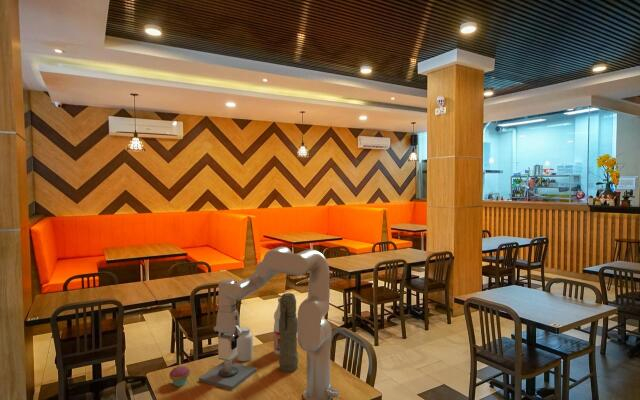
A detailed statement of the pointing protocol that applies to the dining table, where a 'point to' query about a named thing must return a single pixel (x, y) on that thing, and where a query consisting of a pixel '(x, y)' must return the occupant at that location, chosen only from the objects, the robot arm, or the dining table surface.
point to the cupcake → (179, 374)
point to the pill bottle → (245, 345)
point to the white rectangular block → (226, 348)
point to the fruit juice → (277, 330)
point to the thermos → (288, 333)
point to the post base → (227, 375)
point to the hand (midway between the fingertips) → (227, 346)
